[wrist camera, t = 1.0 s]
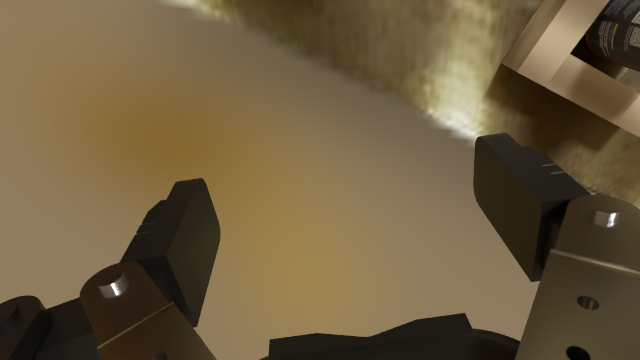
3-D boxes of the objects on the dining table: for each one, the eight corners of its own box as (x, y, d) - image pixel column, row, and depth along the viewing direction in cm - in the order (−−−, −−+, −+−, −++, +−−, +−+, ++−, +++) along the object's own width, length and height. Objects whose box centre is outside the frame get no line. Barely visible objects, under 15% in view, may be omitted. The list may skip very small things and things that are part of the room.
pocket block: (618, -112, 30) (648, -117, 28) (742, -22, 34) (779, -19, 31) (501, 63, 36) (516, 72, 34) (616, 124, 40) (638, 136, 37)
